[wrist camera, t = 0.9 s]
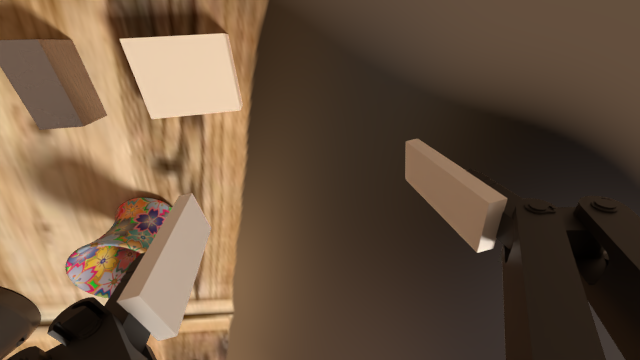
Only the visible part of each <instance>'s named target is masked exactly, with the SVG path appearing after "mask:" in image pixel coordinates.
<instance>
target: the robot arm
mask: <svg viewBox="0 0 640 360" xmlns="http://www.w3.org/2000/svg"><path fill="white" fill-rule="evenodd" d="M405 171H406V172H405V173H406V175H405V179H406V180H407V181H408V182H409V183H410V184H411V185H412V186H413V187H414V188H415V189H416V191H418V192H419V194H420V195H421V196H422V197H423V198H424V199H425V200H426V201H427V202H428V203H429V204H430V205H431V206H432V207H433V208H434V209H435V210H436V211H437V212H438V213H439V214H440V215H441V216H442V217H443V218H444V219H445V220H446V221H447V222H448V223H449V224H450V225H451V226H452V227H453V228H454V229H455V230H456V231H457V232H458V234H460V235H461V237H462V238H463V239H464V240H465V241H466V242H467V243H468V244H469V245H470V246H471V247H472V248H473V249H474V250H475V251H476V252H477V253H478V252H482V251H485V250H489V249H493V248H494V244H495V241H496V238H497V239H498V240H499V241H500V242H501V243H502V244H503V248H502V251H501V254H500V257H499V261H498V262H502V272H503V300H504V328H505V355H506V360H606V359H605V355H604V352H603V349H602V346H601V343H600V339H599V336H598V333H597V330H596V326H595V323H594V320H593V317H592V313H591V310H590V307H589V304H588V302H589V303H590V305H591V306H592V308H593V309H594V311H595V313H596V314H597V316H598V317H599V319H600V321H601V322H602V324H603V325H604V327H605V328H606V330H607V332H608V333H609V335H610V336H611V338H612V339H613V341H614V342H615V344H616V346H617V347H618V349H619V350H620V352H621V353H622V355H623V357H624V358H625V359H626V360H640V217H639V216H638V215H636V214H635V213H634V212H633V211H632V210H631V209H629V208H628V207H627V206H625V205H624V204H622V203H620V202H618V201H615V200H613V199H610V198H606V197H599V196H585V197H583V198H580V200H579V202H578V204H577V206H576V207H560V208H559V207H558V208H557V207H555V206H554V205H552V204H550V203H548V202H546V201H543V200H539V199H531V198H526V199H522V198H521V197H519V196H517V195H516V194H514V193H513V192H511V191H509V190H508V189H506V188H505V187H503V186H501V185H500V184H497V183H496V182H495V181H493V180H492V179H491V180H490V178H489V177H487V176H485V175H484V174H482V173H480V172H477V171H474V170H471V169H469V170H464V169H462V168H461V167H459V166H458V165H456V164H455V163H453V162H452V161H450V160H449V159H447V158H446V157H444V156H443V155H441V154H440V153H438V152H437V151H435V150H434V149H432V148H431V147H429V146H428V145H426V144H425V143H423V142H422V141H420V140H419V139H414V140H410V141H406V170H405ZM210 231H211V226H210V225H209V223H208V221H207V219H206V217H205V216H204V214H203V212H202V210H201V208H200V207H199V205H198V203H197V201H196V199H195V198H194V196H193V194H192V193H190V194H186V195H182V196H179V197H178V199H177V200H176V202H175V204H174V205H173V207H172V209H171V210H170V212H169V214H168V216H167V217H166V219H165V221H164V222H163V224H162V226H161V227H160V229H159V231H158V232H157V234H156V236H155V238H154V239H153V241H152V243H151V244H150V246H149V248H148V249H147V251H146V252H144V253H141V254H140V255H139V256H138V257H137V258H136V259H135V260H134V261H133V262H132V263H131V264H130V266H129V268H128V269H127V271H126V272H125V273H126V274H125V275H124V276H123V277H122V279H121V280H120V283H119V284H118V285H117V287H116V288H115V290H114V292H113V293H112V295H111V296H110V298H109V299H108V301H107V303H106V304H105V306H103V305H102V304H101V303H100V302H99V301H97V300H96V299H95V298H94V297H90V298H85V299H82V300H80V301H78V302H76V303H74V304H72V305H71V306H69V307H68V308H67V309H65V310H64V311H63V312H61V313H60V314H59V315H58V316H57V317H56V318H55V319H54V321H53V322H52V324H51V325H50V327H49V329H48V334H49V335H50V336H52V337H53V338H55V339H56V340H58V341H59V342H61V343H62V344H60V345H58V346H56V347H54V348H52V349H50V350H48V351H46V352H44V351H43V350H41V349H40V348H38V347H36V346H34V347H28V348H26V349H24V350H22V351H19V352H18V353H16V354H15V355H13V356H12V357H10V358H9V359H7V360H157V359H156V357H155V355H154V353H153V351H152V350H151V348H150V347H149V346H148V345H147V344H146V343H147V341H148V338H149V336H150V334H151V335H152V336H153V337H154V338H155V339H157V340H158V341H160V340H164V339H168V338H171V337H175V336H177V335H178V332H179V329H180V325H181V322H182V319H183V316H184V313H185V310H186V306H187V303H188V300H189V297H190V294H191V291H192V287H193V284H194V281H195V278H196V275H197V272H198V268H199V265H200V262H201V259H202V256H203V253H204V250H205V246H206V243H207V240H208V237H209V234H210ZM587 300H588V301H587ZM40 321H41V315H40V312H39V310H38V309H37V307H36V306H35V305H34V304H33V303H32V302H30V301H29V300H28V299H26V298H24V297H23V296H21V295H19V294H17V293H14V292H12V291H9V290H6V289H3V288H0V360H2V359H3V358H4V357H6V356H7V355H8V354H9V353H11V352H12V351H13V350H14V349H15V348H17V347H18V346H20V345H21V344H22V343H23V342H25V341H26V340H27V339H28V338H29V337H30V335H31V334H32V333H33V332H34V330H35V329H36V328H37V327H38V325H39V324H40Z"/></svg>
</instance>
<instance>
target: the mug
mask: <svg viewBox="0 0 640 360" xmlns="http://www.w3.org/2000/svg"><path fill="white" fill-rule="evenodd" d="M171 209H172V207H171V206H169V205H168V204H166V203H165V202H162V201H160V200H157V199H153V198H135V199H131V200H129V201H126V202H125V203H123V204H122V205H121V206H120V207H119V208H118V209H117V211H116V214H115V222H114V224H113V226H112V227H111V229H110V230H109V231H108V232H107V233H106V234H104V235H103V236H102V237H100V238H99V239H97V240H95V241H94V242H92V243H90V244H87V245H85V246H83V247H81V248H79V249H77V250H76V251H74V252H73V253H72V254H71V255H70V257H69V258H68V260H67V262H66V273H67V275H68V277H69V279H70V280H71V281H72V282H73V283H74V284H75V285H76V286H77V287H79V288H80V289H82V290H84V291H86V292H88V293H90V294H93V295H96V296H100V297H104V298H110V296H111V295H112V293H113V292H114V290H115V288H116V287H117V285H118V284H119V283H120V280H121V279H122V277H123V276H124V275H125V274H126V273H125V272H126V271H127V269H128V268H129V266H130V264H131V263H132V262H133V261H134V260H135V259H136V258H137V257H138V256H139V255H140V254H141V253H144V252H146V251H147V249H148V248H149V246H150V244H151V243H152V241H153V239H154V238H155V236H156V234H157V232H158V231H159V229H160V227H161V226H162V224H163V222H164V221H165V219H166V217H167V216H168V214H169V212H170V210H171Z"/></svg>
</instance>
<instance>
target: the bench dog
mask: <svg viewBox="0 0 640 360" xmlns="http://www.w3.org/2000/svg"><path fill="white" fill-rule="evenodd" d="M0 66H1V68H2V70H3V71H4V73H5V74H6V76H7V78H8V79H9V81H10V82H11V84H12V86H13V87H14V89H15V90H16V92H17V94H18V95H19V97H20V99H21V100H22V102H23V103H24V105H25V107H26V108H27V110H28V111H29V113H30V115H31V116H32V118H33V119H34V121H35V123H36V124H37V126H38V127H39V129H40V130H41V129H55V128H68V127H81V126H85V125H87V124H90V123H92V122H94V121H96V120H98V119H101V118H103V117H105V116H107V114H106V112H105V110H104V108H103V105H102V103H101V101H100V99H99V97H98V95H97V93H96V90H95V88H94V86H93V84H92V82H91V80H90V78H89V75H88V73H87V71H86V69H85V67H84V65H83V63H82V60H81V58H80V56H79V54H78V52H77V50H76V48H75V45H74V43H73V41H72V40H55V39H27V40H0Z"/></svg>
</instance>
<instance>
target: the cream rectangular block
mask: <svg viewBox="0 0 640 360" xmlns="http://www.w3.org/2000/svg"><path fill="white" fill-rule="evenodd" d="M119 40H120V42H121V45H122V47H123V49H124V52H125V54H126V57H127V59H128V62H129V64H130V67H131V69H132V72H133V74H134V77H135V79H136V82H137V84H138V87H139V89H140V92H141V94H142V97H143V99H144V102H145V104H146V106H147V109H148V111H149V114H150V116H151V119H158V118H168V117H178V116H189V115H199V114H209V113H219V112H230V111H240V110H241V108H242V105H243V104H242V99H241V94H240V89H239V84H238V80H237V75H236V70H235V65H234V60H233V56H232V51H231V46H230V41H229V36H228V34H225V33H220V34H201V35H182V36H163V37H144V38H125V39H119Z"/></svg>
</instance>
